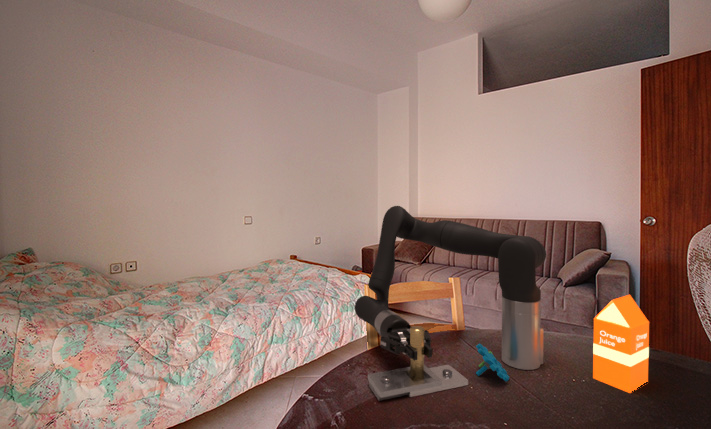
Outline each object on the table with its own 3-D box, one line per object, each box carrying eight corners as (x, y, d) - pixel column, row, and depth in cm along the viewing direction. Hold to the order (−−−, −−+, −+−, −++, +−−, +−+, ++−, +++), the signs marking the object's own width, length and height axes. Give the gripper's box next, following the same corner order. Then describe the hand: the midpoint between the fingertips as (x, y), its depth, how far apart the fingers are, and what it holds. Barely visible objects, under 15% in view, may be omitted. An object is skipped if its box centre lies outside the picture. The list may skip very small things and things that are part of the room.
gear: (513, 384, 77) (480, 347, 80) (493, 400, 78) (461, 363, 81) (509, 368, 87) (480, 336, 90) (492, 382, 88) (463, 350, 91)
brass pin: (420, 374, 82) (419, 325, 82) (426, 381, 79) (426, 330, 79) (408, 376, 81) (407, 326, 81) (414, 383, 78) (414, 331, 78)
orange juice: (648, 382, 80) (650, 298, 79) (630, 393, 75) (632, 304, 75) (610, 368, 86) (611, 290, 86) (591, 377, 82) (593, 295, 81)
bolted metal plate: (448, 369, 87) (448, 357, 87) (468, 385, 80) (468, 372, 80) (367, 384, 81) (367, 371, 80) (380, 403, 73) (380, 389, 73)
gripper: (367, 317, 91) (394, 343, 75) (415, 311, 95) (450, 334, 79) (368, 344, 91) (395, 376, 75) (415, 337, 96) (450, 366, 79)
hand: (423, 354), depth 77 cm, fingers closed on brass pin, 3 cm apart
